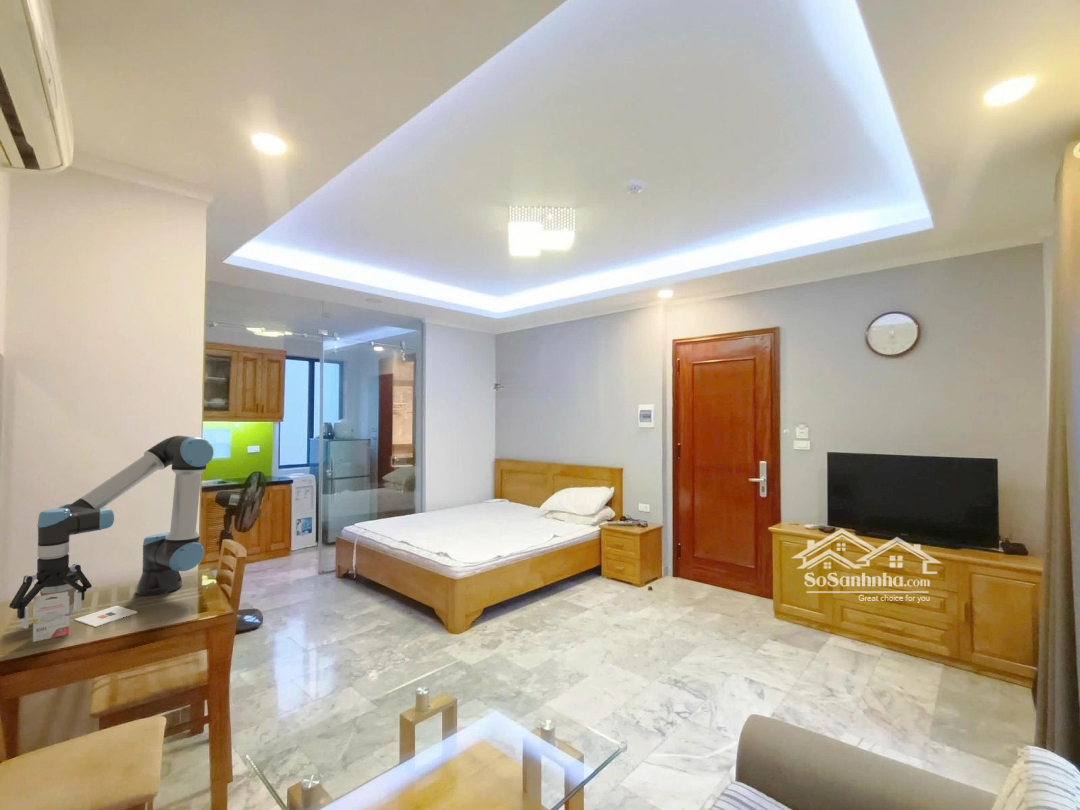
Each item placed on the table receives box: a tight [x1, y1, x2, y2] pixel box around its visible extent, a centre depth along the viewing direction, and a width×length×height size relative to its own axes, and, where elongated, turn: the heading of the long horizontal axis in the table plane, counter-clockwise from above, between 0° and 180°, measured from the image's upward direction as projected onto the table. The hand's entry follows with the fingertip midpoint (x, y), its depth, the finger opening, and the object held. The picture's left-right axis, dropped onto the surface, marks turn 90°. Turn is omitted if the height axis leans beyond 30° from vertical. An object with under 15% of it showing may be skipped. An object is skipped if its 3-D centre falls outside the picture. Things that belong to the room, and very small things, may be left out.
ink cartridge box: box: [32, 592, 70, 643], centre depth 163 cm, size 9×5×15 cm, turn 131°
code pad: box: [74, 605, 139, 628], centre depth 178 cm, size 13×13×1 cm
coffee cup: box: [39, 570, 80, 616], centre depth 178 cm, size 11×11×15 cm
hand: (52, 618), depth 163 cm, fingers open, 13 cm apart
